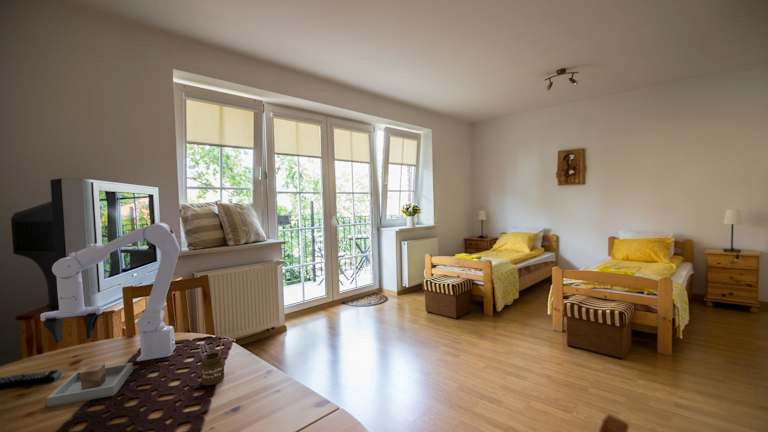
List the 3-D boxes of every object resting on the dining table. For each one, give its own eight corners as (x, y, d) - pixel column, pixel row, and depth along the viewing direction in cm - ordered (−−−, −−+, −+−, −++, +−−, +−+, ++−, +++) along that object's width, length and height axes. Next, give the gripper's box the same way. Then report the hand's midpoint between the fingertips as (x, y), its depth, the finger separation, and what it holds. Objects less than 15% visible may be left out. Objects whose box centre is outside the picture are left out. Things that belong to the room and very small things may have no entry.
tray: (133, 370, 104) (132, 362, 104) (114, 395, 91) (113, 386, 90) (76, 380, 99) (75, 371, 99) (47, 407, 86) (46, 398, 86)
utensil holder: (201, 378, 98) (198, 337, 97) (225, 372, 101) (222, 332, 100) (200, 388, 93) (198, 345, 92) (226, 381, 96) (223, 340, 95)
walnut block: (106, 380, 97) (104, 363, 97) (99, 387, 94) (98, 370, 93) (89, 383, 96) (87, 366, 96) (81, 390, 92) (80, 372, 92)
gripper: (32, 303, 98) (36, 349, 99) (94, 296, 103) (97, 340, 104) (46, 296, 105) (50, 339, 105) (104, 290, 110) (107, 332, 110)
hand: (74, 339), depth 105 cm, fingers open, 7 cm apart
